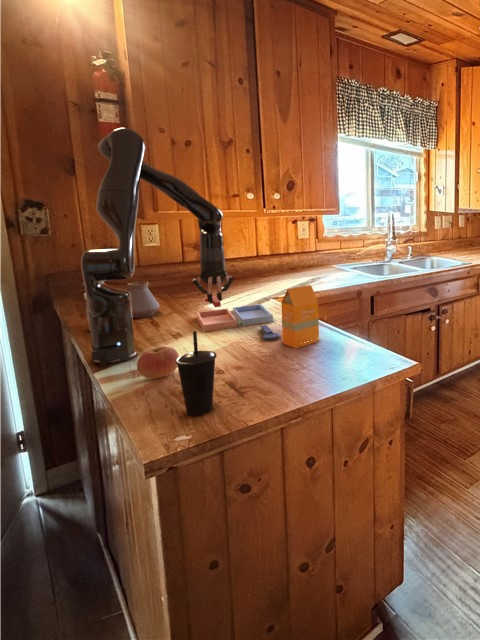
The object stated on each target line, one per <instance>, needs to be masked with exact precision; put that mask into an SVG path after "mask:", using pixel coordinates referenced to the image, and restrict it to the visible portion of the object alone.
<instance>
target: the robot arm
mask: <svg viewBox="0 0 480 640" xmlns="http://www.w3.org/2000/svg"><path fill="white" fill-rule="evenodd" d="M97 147H98V151H99V153H100V154H101V155H102V156H103V157H104V158H105V159H106V160H108V161H109V162H110V163H109V165H108V167H107V170H106V172H105V174H104V175H103V178H102V180H101V182H100V183H99V184H100V185H99V187H98V190H97V197H96V206H95V210H96V212H97V214H98V216H99V218H101V220H102V221H103V222H104V223H105V224H106V225H107V226H108V227H109V228H110V230H111V231H112V233H113V234H114V236H115V237H116V239H117V241H118V248H101V249H99V248H97V249H87V250H85V251H84V252H83V253H82V255H81V258H80V269H81V275H82V279H83V282H84V284H83V286H84V291H85V293H86V297H87V303H88V312H89V322H90V330H89V331H90V339H91V348H92V350H91V358H92V361H93V363H94V364H97V365H100V366H101V367H102V368H103V367H106V365H108V364H115V363H121V362H126V361H130V360H131V359H133V358H134V357H136V356H137V349H136V339H135V338H136V337H135V327H134V317H133V314H132V302H131V294H130V292H128V291H126V290H127V289H124V290H122V289H123V288H118V287H113V286H110V285H109V284H107V283H106V282H109V281H110V282H111V281H126V280H130V279H132V277H133V276H134V274H135V269H136V230H137V229H136V227H137V218H138V212H139V211H138V210H139V201H140V183H141V180H143V181H144V182H146V183H148V184H149V185H151V186H152V187H154V188H156V189H157V190H158V191H160V192H161V193H163V194H164V195H166V196H167V197H168V198H170V199H171V200H172V201H174V202H175V203H176V204H178V205H179V206H181V207H182V208H183V209H185V210H187V211H188V212H189V213H191V214H192V215H193V216H194V217H195V218H197V223H198V229H199V265H200V273H199V276H198V277H196V278H193V279H192V280H191V282H192V283H193V285H195V287H196V288H197V289H198V290H199V291H200V292H201V293H202V294H206V297H207V301H208V302H207V303H209V305H210V304H211V305H212V296H213V293H212V289H213V285H215V287H216V296H217V299H218V300H219V301H220V302H222V301H223V292H226V291H228V290H229V289H230V286H231V285H232V283H233V282H234V280H235V277H234V276H233V275H229V274H228V273H227V272H226V260H225V259H226V258H225V250H224V249H225V248H224V239H223V233H222V230H221V221H222V220H223V212H222V211H221V210H220V209H219V208H218V207H217V206H216V205H214V204H213V203H211V202H210V201H208V200H207V199H205V198H204V197H203V196H202V195H201V194H199V192H197V191H196V189H194V188H193V187H191V186H190V185H189V184H187V183H186V182H185V181H183V180H182V179H181V178H179V177H176V176H175V175H172V174H170V173H167V172H164V171H162V170H159V169H157V168H155V167H153V166H151V165H150V164H148V163H147V162H145V161H144V157H145V156H144V155H145V152H146V142H145V140H144V138H143V137H142V136H141V135H140V133H139V132H138V131H136V130H134V129H132V128H130V127H129V128H128V127H119V128H116V129H113V130H112V131H110V132H109V133H108V134H107V135H106V136H104V137H103V138H102V139H101V140H100V141H99V143H98V146H97ZM224 280H226V281H225V283H224V285H223V286H222V283H223V281H224ZM201 282H204V283H205V284H206V288H204V287H203V286H202V285H201ZM117 288H118V289H117Z"/></svg>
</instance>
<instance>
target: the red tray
mask: <svg viewBox="0 0 480 640" xmlns="http://www.w3.org/2000/svg"><path fill="white" fill-rule="evenodd" d="M196 320H197V321H198V323H199V325H200V327H201V329H202V331H203V332H204V333H206V332H212V331H219V330H225V329H231V328H232V329H233V328H237V327H238V319H237V318H236V316H235V315H234V314H233V313H232V312H231V311H230V310H229V308H228V307H227V308H220V309H213V310H211V309H210V310H205V311H197V312H196Z"/></svg>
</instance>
